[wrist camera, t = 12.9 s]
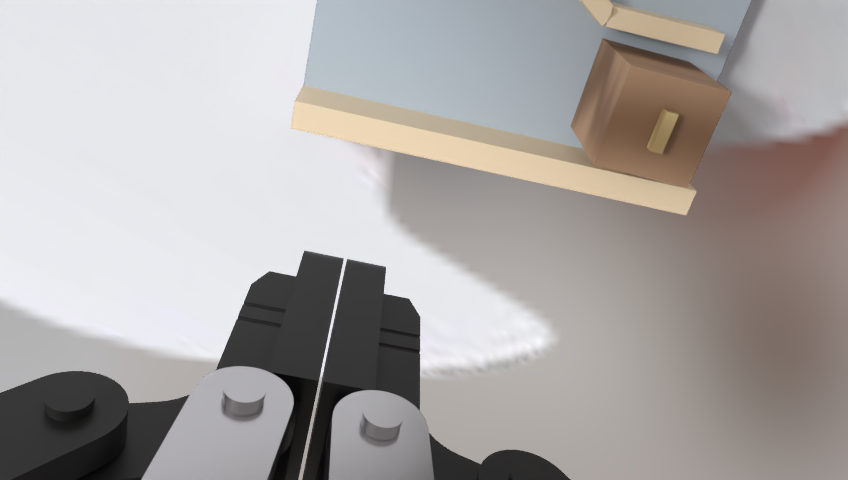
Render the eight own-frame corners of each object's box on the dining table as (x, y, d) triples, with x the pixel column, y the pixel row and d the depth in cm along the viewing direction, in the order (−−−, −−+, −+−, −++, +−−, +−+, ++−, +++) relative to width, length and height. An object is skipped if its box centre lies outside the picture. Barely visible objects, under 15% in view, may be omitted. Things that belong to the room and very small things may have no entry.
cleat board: (339, -124, 36) (329, -124, 32) (748, -18, 38) (783, -6, 34) (302, 105, 41) (290, 128, 37) (663, 185, 44) (686, 215, 40)
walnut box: (602, 38, 38) (634, 68, 32) (689, 61, 39) (736, 95, 33) (570, 125, 41) (595, 169, 35) (653, 146, 41) (691, 192, 35)
